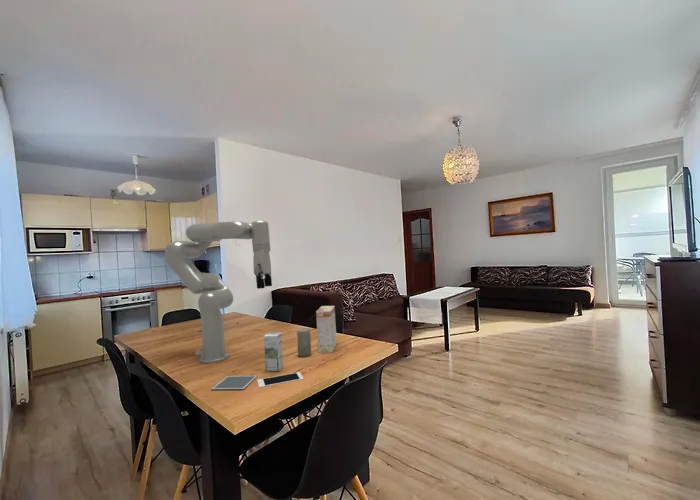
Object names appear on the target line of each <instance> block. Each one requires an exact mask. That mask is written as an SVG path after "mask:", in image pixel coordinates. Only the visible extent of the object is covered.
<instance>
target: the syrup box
mask: <svg viewBox="0 0 700 500" xmlns="http://www.w3.org/2000/svg"><path fill="white" fill-rule="evenodd" d="M282 339H283V338H282V332H267V333H265V335H263V347H264V365H265V372H267V373H268V372H280V371H281V370H282V368H283V367H284V362H283V361H284V360H283V359H284V358H283V342H282V341H283V340H282Z"/></svg>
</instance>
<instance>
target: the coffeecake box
mask: <svg viewBox="0 0 700 500" xmlns="http://www.w3.org/2000/svg"><path fill="white" fill-rule="evenodd" d="M335 310H336V308H335V305H321V306H320V307H319V308H318V309H316V311H315V314H316V315H315V317H316V332H317V334H316V335H317V354H326V353H327V354H331V353H334V351H335V349H336V347H337V344H338V342H337V325H336V311H335Z"/></svg>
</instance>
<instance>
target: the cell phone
mask: <svg viewBox="0 0 700 500" xmlns="http://www.w3.org/2000/svg"><path fill="white" fill-rule="evenodd" d="M304 379H305V378H304V377H303V374H302V373H301V372H299V371H298V372H297V371H296V372H292V373H285V374H280V375H275V376H269V377H264V378H258V379H257V380H256V382H257V384H258V387H259V388H263V387H270V386H275V385H280V384H285V383H291V382H295V381H296V382H297V381H300V380H304Z"/></svg>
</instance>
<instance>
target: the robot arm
mask: <svg viewBox="0 0 700 500" xmlns="http://www.w3.org/2000/svg"><path fill="white" fill-rule="evenodd" d="M269 229H270V227H269V223H268V221H266V220H255V221H252V222H244V221H234V220H233V221H220V222H210V223H209V222H208V223H194V224H191V225H189V226H187V228H186V230H185V236H186V238H187V239H188V241H187V240H175V241H172V242H169V243H168V244H167V245H166V247H165V250H164V259H165V261H166V264H167V266H169V268H170V269H171V270H172V271H173V272H174V273H175V274H176V275H177V277H178V278H179V279H180V280H181V282H182V283H183V284H184V285H185V286H186V288H187V289H188V290H189V291H190V292H191V293H192V294H195V295H200V296H199V298H198V300H197V304H198V309H199V314H200V321H201V323H200V324H201V339H202V342H201V343H202V350H201V349H200V350H199V349H197V350H196V351H195V354H194V355H195V356H198V357H199V356H200V357H199V362H200V363H201V362H202V364H213V363H219V362H223V361H225V360H227V359H228V358H230V353H228V352H226V341H225V323H224V321H225V320H224V316H223V314H222V312H221V310H222V309H226V308H228V307H230V306H231V305H232V304H233V301H234V295H233V293H232V291H231V290H230V289H229V287H228V286H227V285H226V283H225V282H224V281H223V280H222V279H221V278H220V277H219V276H218V275H217V274H215V273H212V272H206V273H205V272H201V271H200V270H199V269H198V268H197V267H196V265H195V264H194V263H193V262H191V261H190V260H188V259H197V258H199V257H201V256H202V254H204V252H205V251H206V250H207V249H208V248H209V247H210V246H211V245H212V244H213V242H220V241H222V240H231V239H233V240H237V239H238V240H251V243H252V253H253V260H252V261H253V264H252V265H253V274H254V276H255V279H256V280H255V282H256V288H257V290H258V289H265V288H266V287H272V285H273V281H272V265H271V257H270V252H271V240H270V230H269Z"/></svg>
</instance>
